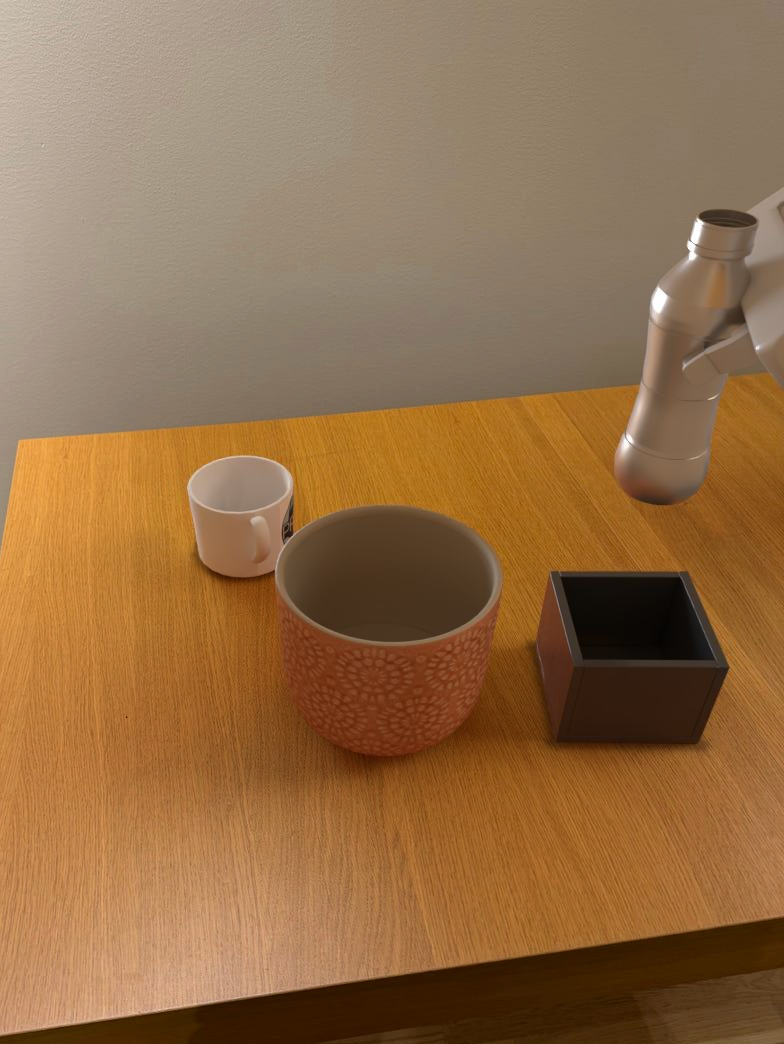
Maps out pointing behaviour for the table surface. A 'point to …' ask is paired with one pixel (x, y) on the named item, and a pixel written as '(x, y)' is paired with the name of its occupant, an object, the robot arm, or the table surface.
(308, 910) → the table surface
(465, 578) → the planter
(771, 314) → the robot arm
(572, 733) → the dark square storage bin
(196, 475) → the mug
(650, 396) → the silver metal bottle
